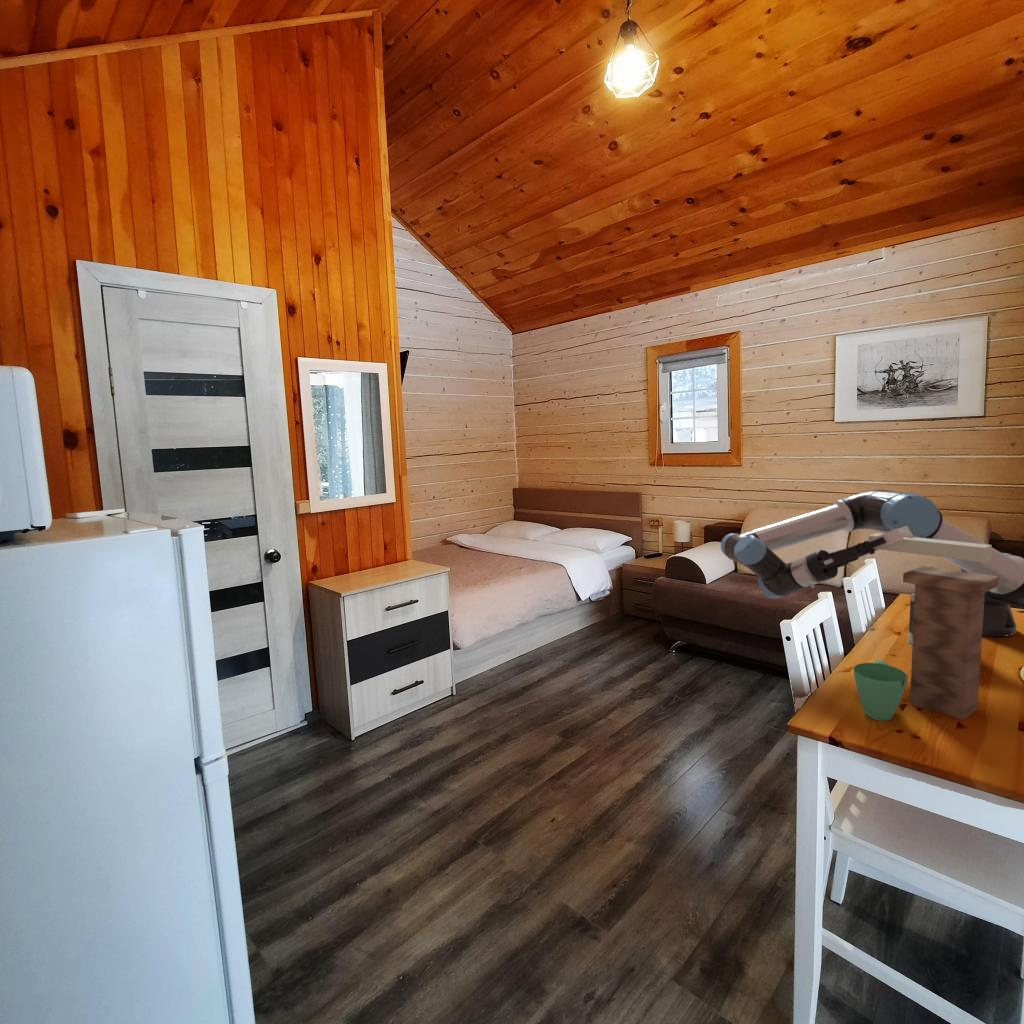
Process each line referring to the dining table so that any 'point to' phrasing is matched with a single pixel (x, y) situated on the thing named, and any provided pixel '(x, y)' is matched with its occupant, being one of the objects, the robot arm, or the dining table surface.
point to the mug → (880, 688)
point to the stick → (940, 548)
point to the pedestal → (947, 638)
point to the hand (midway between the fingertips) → (904, 532)
